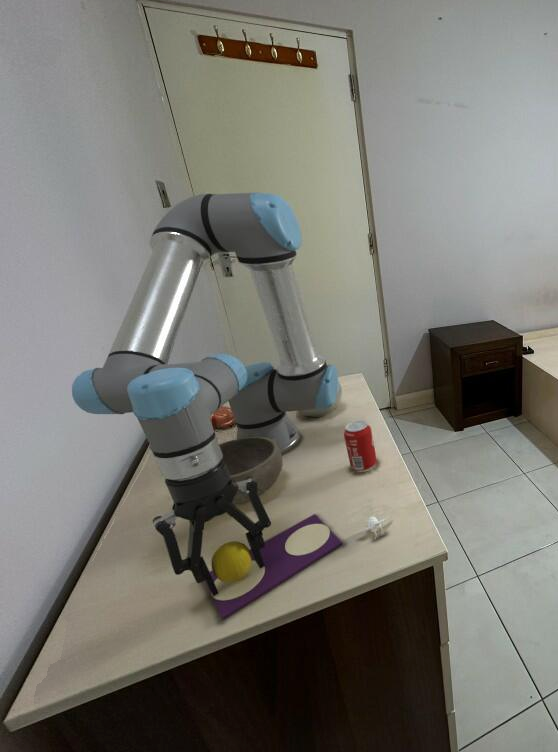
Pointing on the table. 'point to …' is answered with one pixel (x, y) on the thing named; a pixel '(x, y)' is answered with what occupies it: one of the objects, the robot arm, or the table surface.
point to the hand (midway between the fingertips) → (237, 576)
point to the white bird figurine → (373, 525)
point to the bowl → (252, 463)
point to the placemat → (276, 564)
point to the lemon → (231, 561)
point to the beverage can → (360, 446)
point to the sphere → (325, 410)
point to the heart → (222, 417)
